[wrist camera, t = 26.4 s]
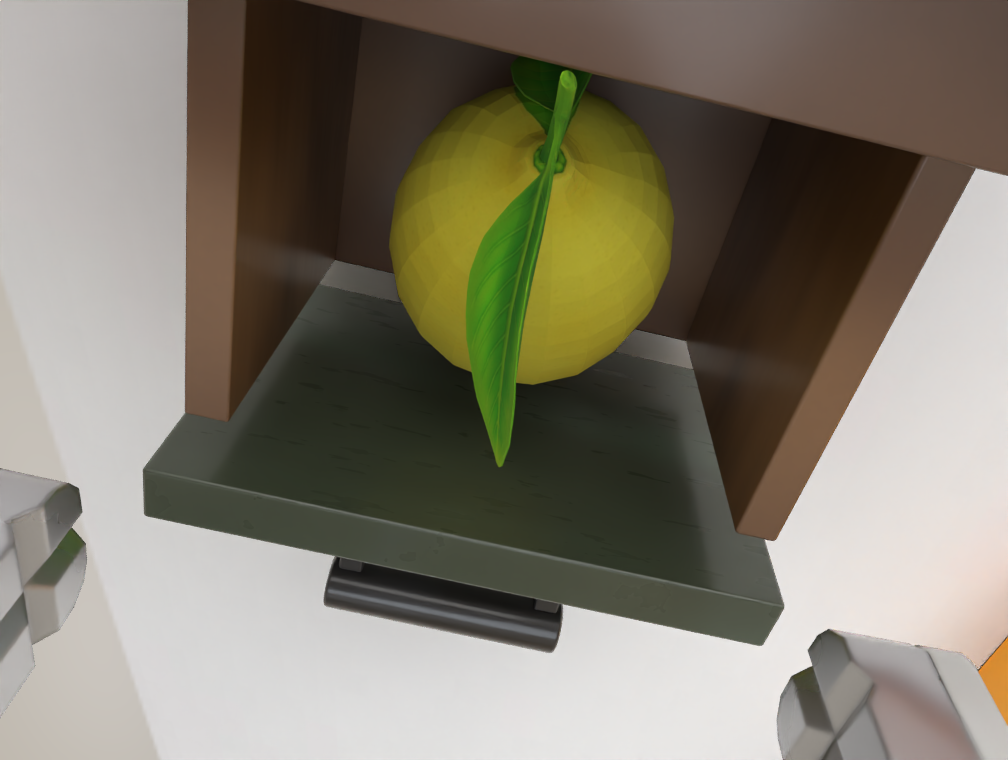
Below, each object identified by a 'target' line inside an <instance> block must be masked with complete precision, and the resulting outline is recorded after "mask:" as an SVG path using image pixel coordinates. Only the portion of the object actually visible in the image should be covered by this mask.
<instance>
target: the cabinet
mask: <svg viewBox="0 0 1008 760" xmlns="http://www.w3.org/2000/svg"><path fill="white" fill-rule="evenodd" d="M296 1H300V2H304V3H308V4H312V5H316V6H320V7H324V8H328V9H332V10H336V11H340V12H344V13H348V14H353V15H357V16H361V17H365V18H369V19H373V20H377V21H381V22H385V23H389V24H393V25H397V26H401V27H405V28H409V29H413V30H417V31H422V32H426V33H430V34H434V35H438V36H442V37H446V38H450V39H454V40H458V41H462V42H466V43H470V44H474V45H478V46H482V47H486V48H490V49H495V50H499V51H503V52H507V53H511V54H515V55H519V56H523V57H527V58H531V59H535V60H539V61H543V62H547V63H551V64H555V65H559V66H564V67H568V68H572V69H576V70H580V71H584V72H588V73H592V74H596V75H600V76H604V77H608V78H612V79H616V80H620V81H624V82H628V83H632V84H637V85H641V86H645V87H649V88H653V89H657V90H661V91H665V92H669V93H673V94H677V95H681V96H685V97H689V98H693V99H697V100H701V101H706V102H710V103H714V104H718V105H722V106H726V107H730V108H734V109H738V110H742V111H746V112H750V113H754V114H758V115H762V116H766V117H770V118H774V119H779V120H783V121H787V122H791V123H795V124H799V125H803V126H807V127H811V128H815V129H819V130H823V131H827V132H831V133H835V134H839V135H843V136H848V137H852V138H856V139H860V140H864V141H868V142H872V143H876V144H880V145H884V146H888V147H892V148H896V149H900V150H904V151H908V152H912V153H916V154H921V155H925V156H929V157H933V158H937V159H941V160H945V161H949V162H953V163H957V164H961V165H965V166H969V167H973V168H977V169H981V170H985V171H990V172H994V173H998V174H1002V175H1006V176H1008V0H296Z"/></svg>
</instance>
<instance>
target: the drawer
mask: <svg viewBox="0 0 1008 760" xmlns="http://www.w3.org/2000/svg"><path fill="white" fill-rule="evenodd" d="M518 57H519V55H515V54H511V53H507V52H503V51H499V50H495V49H490V48H486V47H482V46H478V45H474V44H470V43H466V42H462V41H458V40H454V39H450V38H446V37H442V36H438V35H434V34H430V33H426V32H422V31H417V30H413V29H409V28H405V27H401V26H397V25H393V24H389V23H385V22H381V21H377V20H373V19H369V18H365V17H361V16H357V15H353V14H348V13H344V12H340V11H336V10H332V9H328V8H324V7H320V6H316V5H312V4H308V3H304V2H300V1H296V0H188V48H187V193H186V338H185V414H184V415H183V417H182V418H181V419H180V421H179V422H178V423H177V425H176V426H175V427H174V429H173V430H172V431H171V433H170V434H169V435H168V437H167V438H166V439H165V440H164V442H163V443H162V444H161V446H160V447H159V448H158V450H157V451H156V452H155V454H154V455H153V456H152V458H151V459H150V460H149V462H148V463H147V464H146V466H145V467H144V469H143V492H144V514H145V515H146V516H148V517H153V518H158V519H162V520H167V521H172V522H177V523H181V524H186V525H191V526H195V527H200V528H205V529H210V530H214V531H219V532H224V533H228V534H233V535H238V536H243V537H247V538H252V539H257V540H261V541H266V542H271V543H276V544H280V545H285V546H290V547H295V548H299V549H304V550H309V551H313V552H318V553H323V554H328V555H332V556H335V557H334V559H333V562H332V565H331V568H330V572H329V575H328V579H327V583H326V588H325V593H324V605H325V606H326V607H331V608H335V609H340V610H345V611H350V612H355V613H359V614H364V615H369V616H374V617H379V618H383V619H388V620H393V621H398V622H403V623H407V624H412V625H417V626H422V627H426V628H431V629H436V630H441V631H446V632H450V633H455V634H460V635H465V636H470V637H474V638H479V639H484V640H489V641H494V642H498V643H503V644H508V645H513V646H518V647H522V648H527V649H532V650H537V651H542V652H546V653H552V652H553V651H554V649H555V648H556V645H557V643H558V639H559V636H560V631H561V626H562V619H563V604H564V605H568V606H573V607H578V608H583V609H587V610H592V611H597V612H601V613H606V614H611V615H616V616H620V617H625V618H630V619H634V620H639V621H644V622H649V623H653V624H658V625H663V626H667V627H672V628H677V629H682V630H686V631H691V632H696V633H701V634H705V635H710V636H715V637H719V638H724V639H729V640H734V641H738V642H743V643H748V644H752V645H757V646H762V645H763V644H764V642H765V640H766V639H767V637H768V635H769V634H770V632H771V630H772V628H773V627H774V625H775V623H776V622H777V620H778V618H779V616H780V615H781V613H782V611H783V609H784V602H783V599H782V596H781V593H780V589H779V586H778V583H777V579H776V576H775V573H774V569H773V566H772V563H771V559H770V556H769V553H768V550H767V546H766V543H765V540H764V539H766V540H771V541H775V540H776V539H777V537H778V535H779V533H780V531H781V529H782V527H783V526H784V524H785V522H786V520H787V518H788V516H789V514H790V513H791V511H792V509H793V507H794V505H795V503H796V501H797V500H798V498H799V496H800V494H801V492H802V490H803V488H804V487H805V485H806V483H807V481H808V479H809V477H810V475H811V474H812V472H813V470H814V468H815V466H816V464H817V462H818V461H819V459H820V457H821V455H822V453H823V451H824V449H825V448H826V446H827V444H828V442H829V440H830V438H831V436H832V435H833V433H834V431H835V429H836V427H837V425H838V423H839V422H840V420H841V418H842V416H843V414H844V412H845V410H846V409H847V407H848V405H849V403H850V401H851V399H852V397H853V396H854V394H855V392H856V390H857V388H858V386H859V384H860V383H861V381H862V379H863V377H864V375H865V373H866V371H867V370H868V368H869V366H870V364H871V362H872V360H873V358H874V357H875V355H876V353H877V351H878V349H879V347H880V345H881V344H882V342H883V340H884V338H885V336H886V334H887V332H888V331H889V329H890V327H891V325H892V323H893V321H894V319H895V318H896V316H897V314H898V312H899V310H900V308H901V306H902V305H903V303H904V301H905V299H906V297H907V295H908V293H909V292H910V290H911V288H912V286H913V284H914V282H915V280H916V279H917V277H918V275H919V273H920V271H921V269H922V267H923V266H924V264H925V262H926V260H927V258H928V256H929V254H930V253H931V251H932V249H933V247H934V245H935V243H936V241H937V240H938V238H939V236H940V234H941V232H942V230H943V228H944V227H945V225H946V223H947V221H948V219H949V217H950V215H951V214H952V212H953V210H954V208H955V206H956V204H957V202H958V201H959V199H960V197H961V195H962V193H963V191H964V189H965V188H966V186H967V184H968V182H969V180H970V178H971V176H972V175H973V173H974V171H975V169H976V168H973V167H969V166H965V165H961V164H957V163H953V162H949V161H945V160H941V159H937V158H933V157H929V156H925V155H921V154H916V153H912V152H908V151H904V150H900V149H896V148H892V147H888V146H884V145H880V144H876V143H872V142H868V141H864V140H860V139H856V138H852V137H848V136H843V135H839V134H835V133H831V132H827V131H823V130H819V129H815V128H811V127H807V126H803V125H799V124H795V123H791V122H787V121H783V120H779V119H774V118H770V117H766V116H762V115H758V114H754V113H750V112H746V111H742V110H738V109H734V108H730V107H726V106H722V105H718V104H714V103H710V102H706V101H701V100H697V99H693V98H689V97H685V96H681V95H677V94H673V93H669V92H665V91H661V90H657V89H653V88H649V87H645V86H641V85H637V84H632V83H628V82H624V81H620V80H616V79H612V78H608V77H604V76H600V75H596V74H592V76H591V78H590V80H589V82H588V84H587V86H586V88H585V91H587V92H590V93H592V94H595V95H597V96H599V97H602V98H604V99H606V100H609V101H611V102H612V103H613V104H614V105H615V106H617V107H618V108H619V109H620V110H621V111H623V112H624V113H625V114H626V115H627V116H629V117H630V118H631V119H632V120H633V121H635V122H636V123H637V124H638V125H639V126H640V127H641V128H642V130H643V132H644V134H645V135H646V137H647V139H648V141H649V142H650V144H651V146H652V148H653V149H654V151H655V153H656V155H657V156H658V158H659V160H660V161H661V163H662V165H663V167H664V170H665V174H666V179H667V184H668V189H669V193H670V198H671V203H672V208H673V214H674V225H673V238H672V250H671V261H670V268H669V271H668V273H667V276H666V278H665V280H664V282H663V285H662V287H661V289H660V291H659V294H658V296H657V298H656V300H655V303H654V305H653V307H652V309H651V310H650V312H649V314H648V315H647V316H646V317H645V319H644V320H643V321H642V322H641V323H640V324H639V325H638V326H637V327H636V328H635V329H636V330H641V331H645V332H649V333H654V334H658V335H662V336H667V337H671V338H675V339H680V340H684V341H686V343H687V347H688V351H689V354H690V358H691V362H692V366H693V370H692V369H688V368H683V367H679V366H675V365H670V364H666V363H661V362H657V361H653V360H648V359H644V358H640V357H635V356H631V355H627V354H622V353H618V352H613V353H611V354H610V355H608V356H606V357H605V358H603V359H602V360H600V361H598V362H597V363H595V364H594V365H592V366H591V367H589V368H587V369H586V370H584V371H583V372H581V373H579V374H578V375H575V376H571V377H566V378H561V379H557V380H552V381H548V382H543V383H539V384H534V385H531V384H522V383H516V397H515V411H514V420H513V427H512V434H511V442H510V447H509V450H508V452H507V455H506V458H505V460H504V463H503V466H502V467H498V465H497V462H496V459H495V455H494V452H493V448H492V445H491V441H490V438H489V435H488V431H487V428H486V425H485V422H484V419H483V416H482V413H481V409H480V406H479V403H478V400H477V397H476V392H475V387H474V382H473V376H472V372H470V371H467V370H465V369H462V368H460V367H457V366H455V365H453V364H452V363H451V362H450V361H448V360H447V359H446V358H445V357H444V356H443V355H442V354H441V353H440V352H439V351H437V350H436V349H435V348H434V347H433V346H432V345H431V344H430V343H429V342H428V341H426V340H425V339H424V338H423V337H422V336H421V334H420V333H419V332H418V330H417V328H416V326H415V324H414V323H413V321H412V319H411V317H410V316H409V314H408V312H407V310H406V308H405V307H404V305H403V303H399V302H395V301H391V300H386V299H382V298H377V297H373V296H369V295H364V294H360V293H356V292H351V291H347V290H342V289H338V288H334V287H329V286H325V285H321V284H319V283H320V282H321V280H322V279H323V277H324V276H325V274H326V273H327V271H328V270H329V268H330V267H331V265H332V263H333V262H334V260H337V261H342V262H346V263H350V264H355V265H359V266H363V267H368V268H372V269H376V270H381V271H385V272H389V273H394V269H393V264H392V258H391V253H390V248H389V241H390V232H391V225H392V217H393V210H394V203H395V196H396V192H397V189H398V187H399V184H400V182H401V180H402V178H403V176H404V174H405V172H406V170H407V168H408V167H409V165H410V163H411V161H412V159H413V157H414V155H415V153H416V151H417V149H418V147H419V146H420V144H421V143H422V142H423V141H424V140H425V139H426V137H427V136H428V135H429V134H430V133H431V132H432V131H433V130H434V129H435V128H436V126H437V125H438V124H439V123H440V122H441V121H442V120H443V119H444V118H445V117H446V116H447V114H448V113H449V112H450V111H451V110H452V109H454V108H456V107H458V106H460V105H463V104H465V103H467V102H469V101H471V100H473V99H475V98H478V97H480V96H482V95H484V94H486V93H488V92H490V91H493V90H495V89H499V88H504V87H509V86H514V85H515V84H514V82H513V78H512V74H511V69H510V67H511V65H512V62H513V61H514V60H516V59H517V58H518Z"/></svg>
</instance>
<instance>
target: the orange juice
mask: <svg viewBox="0 0 1008 760" xmlns="http://www.w3.org/2000/svg"><path fill="white" fill-rule="evenodd" d="M978 672H979V674H980V676H981V678H982V680H983V682H984V683H985V685H986V687H987V689H988V691H989V693H990V694H991V696H992V698H993V700H994V702H995V704H996V706H997V707H998V709H999V711H1000V713H1001V715H1002V717H1003V718H1004V720H1005V722H1006V724H1007V726H1008V637H1007V639H1006V640H1005V641H1004V642H1003V643H1002V644H1001V645H1000V647H999V648H998V649H997V650H996V651H995V652H994V654H993V655H992V656H991V657H990V658H989V659H988V661H987V662H986V663H985V664H984V665H983V666H982V668H981V669H980V670H979V671H978Z"/></svg>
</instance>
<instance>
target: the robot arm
mask: <svg viewBox="0 0 1008 760" xmlns="http://www.w3.org/2000/svg"><path fill="white" fill-rule="evenodd" d="M81 513H82V506H81V499H80V493H79V488H77V487H75V486H73V485H72V484H70V483H66V482H61V481H57V480H52V479H47V478H42V477H38V476H34V475H28V474H24V473H20V472H15V471H10V470H6V469H1V468H0V718H1V716H2V715H3V713H4V712H5V710H6V709H7V707H8V706H9V704H10V703H11V701H12V700H13V698H14V697H15V695H16V694H17V692H18V691H19V689H20V688H21V687H22V685H23V683H24V682H25V681H26V679H27V677H28V676H29V675H30V673H31V671H32V670H33V669H34V667H35V661H34V655H33V648H32V645H33V644H35V643H37V642H39V641H41V640H42V639H44V638H46V637H48V636H50V635H51V634H53V633H55V632H57V631H59V630H60V628H61V626H62V625H63V623H64V622H65V620H66V619H67V617H68V616H69V614H70V612H71V611H72V609H73V608H74V605H75V603H76V600H77V598H78V595H79V592H80V590H81V587H82V584H83V582H84V577H85V570H86V563H87V555H86V543H85V542H84V541H83V540H82V539H81V537H80V536H79V535H78V534H77V533H76V532H75V531H74V530H73V528H72V526H73V524H74V523H75V521H76V520H77V519H78V517H79V516H80V515H81ZM808 652H809V656H810V659H811V662H812V665H813V666H811V667H809V668H807V669H805V670H803V671H801V672H799V673H797V674H795V675H793V676H791V678H790V680H789V682H788V684H787V685H786V687H785V689H784V691H783V693H782V694H781V697H780V703H779V709H778V715H777V731H778V741H779V745H780V750H781V754H782V758H783V760H1008V726H1007V724H1006V722H1005V720H1004V718H1003V717H1002V715H1001V713H1000V711H999V709H998V707H997V706H996V704H995V702H994V700H993V698H992V696H991V694H990V693H989V691H988V689H987V687H986V685H985V683H984V682H983V680H982V678H981V676H980V674H979V672H978V671H977V669H976V667H975V665H974V664H973V663H972V662H971V661H970V660H969V659H968V658H967V657H966V656H965V655H963V654H962V653H958V652H953V651H947V650H942V649H936V648H931V647H925V646H920V645H911V644H909V643H903V642H898V641H892V640H887V639H881V638H876V637H870V636H865V635H859V634H854V633H848V632H843V631H837V630H832V629H828V630H826V631H824V632H823V633H821V634H819V635H818V636H817V637H816V639H815V640H814V642H813V643H812V645H811V646H810V648H809V649H808Z"/></svg>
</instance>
